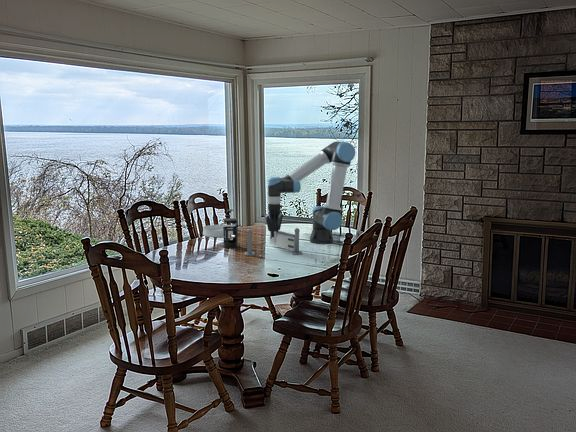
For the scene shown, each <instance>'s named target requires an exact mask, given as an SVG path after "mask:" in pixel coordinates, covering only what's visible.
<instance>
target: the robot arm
mask: <svg viewBox="0 0 576 432" xmlns="http://www.w3.org/2000/svg"><path fill="white" fill-rule="evenodd" d="M355 156H356V148H355V146H354V145H353V144H352V143H350V142H348V141H333V142H332V143H330V144H328V145H326V147H324V148H323V149H321V150H320V151H319V153H318V154H317V155H315V156H313V157H312V158H310V159H309V160H307V161H306V162H304V163H303V164H301V165H300V166H299V167H297V168H295V169H294V170H293V171H291V172H290V173H288V174H287V175H285V176H284V177H278V176H271V177H268V181H267V203H268V204H267V210H268V212H267V214H266V215H264V218H265V221H266V222H265V223H266V226H267V231H269V232H270V231H271V237H272V242H274V243H276V237H277V232H278V231H281V228H282V227H281V226H282V221H283V218H284V213H281V206H282V205H281V202H282V200H281V198H282V197H281V196H282V195H281V194H296V193H300V191H301V187H302V186H301V181H302V180H304V179H305V178H306V177H308V176H309V175H311V174H313V173H314V172H316V171H317V170H319V169H320V168H322V167H323V166H325V165H326V164H332V170H331V176H330V181H329V186H328V192H327V197H326V203H325V204H324V205H320V206H319V205H317V206H314V207H312V231H311V233H310V236H309V243H313V244H317V245H318V244H320V245H323V244H332V243H334V236H333V233H332V231H335V230H338V229H339V228H341V226H342V224H343V215H342V210H343V209H342V208H341V202H342V197H343V192H344V187H345V180H346V176H347V175H346V174H347V170H348V168H349V167H350V166H351V162H352V161H353V160H354V158H355Z"/></svg>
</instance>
